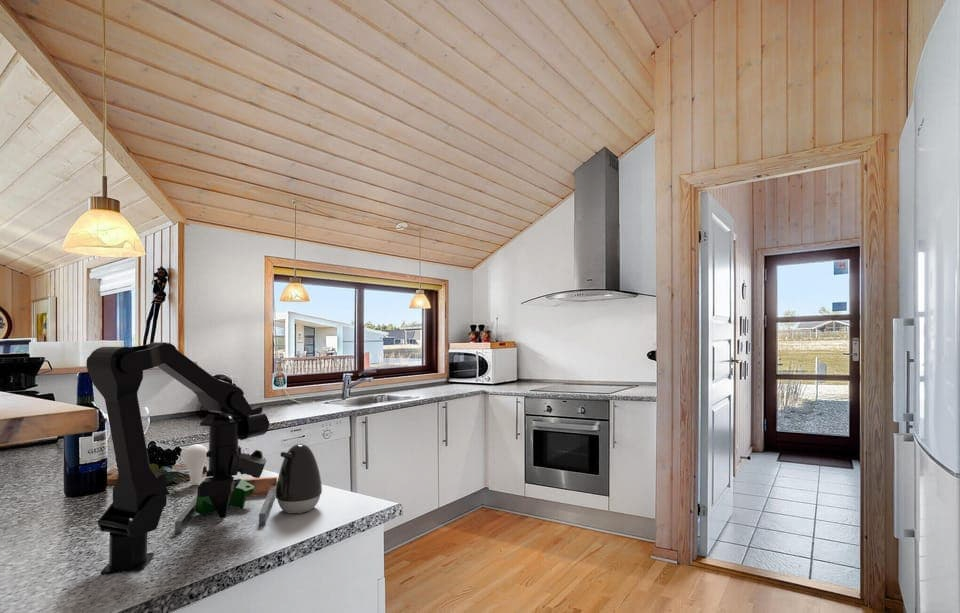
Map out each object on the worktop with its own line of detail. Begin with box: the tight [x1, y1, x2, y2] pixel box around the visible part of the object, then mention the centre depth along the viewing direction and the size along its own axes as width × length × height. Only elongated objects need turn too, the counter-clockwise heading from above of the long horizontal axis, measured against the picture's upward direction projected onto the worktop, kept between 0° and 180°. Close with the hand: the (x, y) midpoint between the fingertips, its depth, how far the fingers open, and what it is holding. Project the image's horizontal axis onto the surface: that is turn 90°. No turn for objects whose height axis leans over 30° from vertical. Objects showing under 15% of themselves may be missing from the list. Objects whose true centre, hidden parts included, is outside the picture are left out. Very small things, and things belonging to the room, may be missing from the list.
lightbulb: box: [182, 443, 209, 486], centre depth 144 cm, size 6×6×11 cm
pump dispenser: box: [275, 443, 323, 515], centre depth 124 cm, size 10×10×15 cm
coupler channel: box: [174, 476, 278, 535], centre depth 124 cm, size 24×17×4 cm
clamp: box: [195, 478, 254, 517], centre depth 124 cm, size 12×6×9 cm, turn 148°
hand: (222, 517), depth 114 cm, fingers closed
